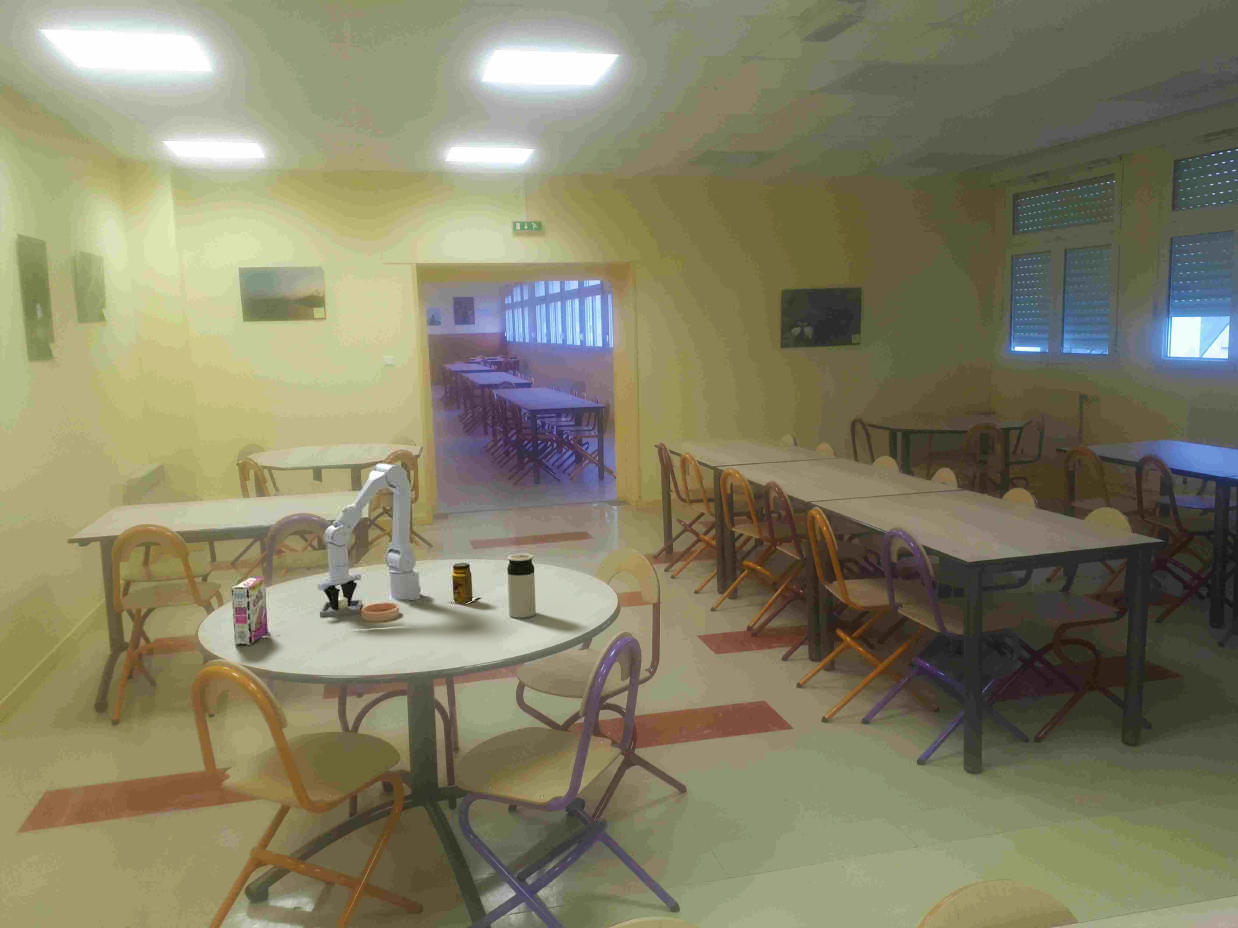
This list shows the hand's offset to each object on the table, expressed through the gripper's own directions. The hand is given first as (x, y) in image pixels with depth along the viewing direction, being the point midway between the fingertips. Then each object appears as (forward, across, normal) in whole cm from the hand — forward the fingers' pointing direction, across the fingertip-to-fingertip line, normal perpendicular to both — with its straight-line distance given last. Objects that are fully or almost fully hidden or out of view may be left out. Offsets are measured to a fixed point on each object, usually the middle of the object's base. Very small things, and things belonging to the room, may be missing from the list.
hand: (341, 607), depth 274 cm
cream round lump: (+1, 0, 0) cm, 1 cm away
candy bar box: (+2, +30, 0) cm, 30 cm away
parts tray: (+1, 0, 0) cm, 1 cm away
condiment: (+2, -29, +24) cm, 38 cm away
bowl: (+1, -3, +15) cm, 15 cm away
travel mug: (+2, -27, +50) cm, 57 cm away
